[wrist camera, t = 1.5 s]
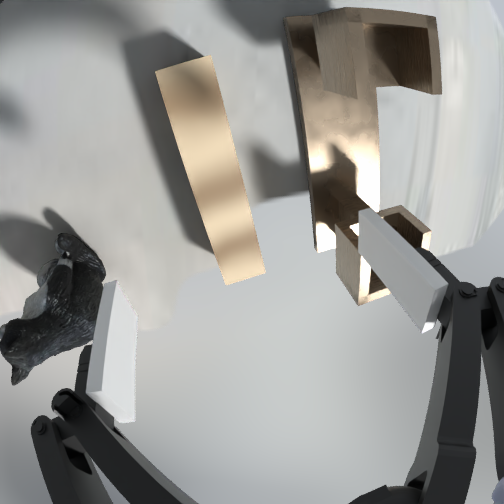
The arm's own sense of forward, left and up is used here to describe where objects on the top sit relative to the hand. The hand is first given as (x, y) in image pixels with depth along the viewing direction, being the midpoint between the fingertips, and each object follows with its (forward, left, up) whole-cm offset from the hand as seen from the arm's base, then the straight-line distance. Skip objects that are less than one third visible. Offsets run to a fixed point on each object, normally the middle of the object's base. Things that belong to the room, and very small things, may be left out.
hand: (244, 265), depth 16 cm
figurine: (+5, -17, -15) cm, 23 cm away
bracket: (0, +13, -15) cm, 20 cm away
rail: (0, 0, -15) cm, 15 cm away
